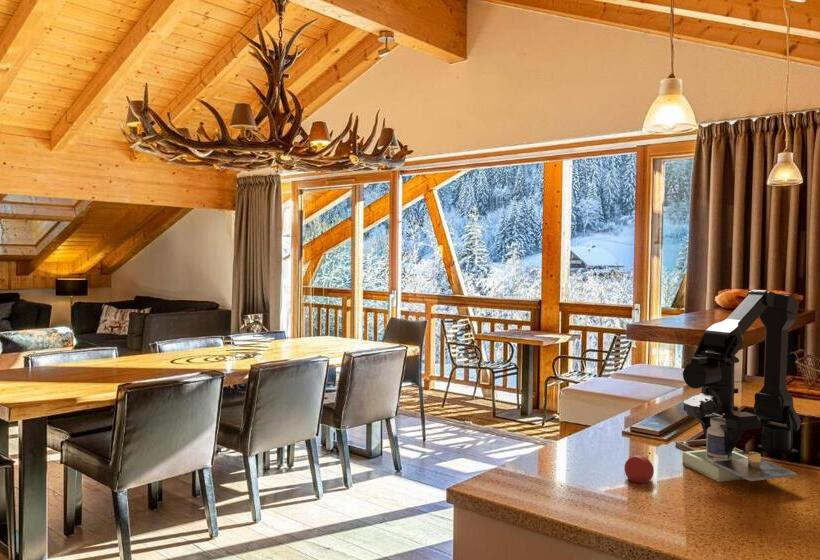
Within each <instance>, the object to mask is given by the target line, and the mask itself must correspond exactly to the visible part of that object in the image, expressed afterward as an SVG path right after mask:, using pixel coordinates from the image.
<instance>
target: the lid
mask: <svg viewBox="0 0 820 560" xmlns="http://www.w3.org/2000/svg"><path fill="white" fill-rule="evenodd" d="M761 455H762V453H760V452H757V451H749V452H748V453H747V457H748V458H744V459H734V460H724V461H714V462H713V464H714V465H716V466H718V467H721V468H723V469H725V470H727V471H729V472H732V473H734V474H736V475H738V476H740V477H743V478H745V479H744V480H747V481H749V482H755V481H756V482H757V481H762V480H763V481H764V480H773V479H774V480H775V479H783V478H792V477H797V476H798V473H797V472H795V471H792V470H790V469H788V468H784V467H782V466H780V465H778V464H775V463H772V462H771V461H767V460H765V459H763V458H762V457H761Z"/></svg>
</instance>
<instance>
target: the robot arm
mask: <svg viewBox="0 0 820 560" xmlns="http://www.w3.org/2000/svg"><path fill="white" fill-rule="evenodd" d="M799 304H800V303H799V300H797V299H796V298H795V296H794V295H793V294H782V293H775V292H773V291H770V290H765V289H752V290H749V291H748V292H747V294H746V297H745V298H744V299H743V300H742V301H741V302H740V303H739V305H738V306H737V307H736V308H735V309H734V310H733V311H732V312H731V313H730V314H729V315H728V317H727V318H725V320H722V321H720V322H716V323H714V324H712V325H711V326H709V327H708V328H707V329H706V330H705V331H704V332H703V334H702V336H701V339H700V341H699V343H698V345H697V347H696V350H695V353H694V354H693V357H690V363H688V364H687V365H685V366H684V367H683V371H682V378H683V382H684V383H685V384H686V386H688V387H689V388H691V389H694V390H695V389H696V390H697V389H701V392H700V393H699V394H696V395H694V396H691V397H690V398H687V399H685V400H684V401H683V411H684V412H686V414H687V415H688V416H691V417H692V418H695V419H696V420H697V421H698V422H700V425H701V427H702V430H703V433H704V437H705V439H706V440H707V429H708V428H709V427H711V424H710V419H711V418H713V417H720V418H723V419H726V425H720V427H721V428H722V429H723V430H724V435H725V450H726V453H727V454H730V453H731V452H732V451H733V449H734V447H735V448H736V445H738V442H739V441H740V439H741V437H742V435H743V434H744V433H745V431H746V430H757V429H761V425H762V431H761V444H757V448H759V449H761V450H763V451H766V452H769V453H772V454H774V455H786V454H787V455H788V454H796V453H798V450H797V449H794V448H793V443H794V442H793V437H794V436H793V434H794V433H793V432H794V431H795V432H797V431H799V430H800V427H801V422H802V420H801V418H800V416H799V415H798V413H797V411H796V410H795V408H794V399H793V397H792V394H791V393H790V391H789V390H788V389H787V373H788V370H787V369H788V353H789V351H788V349H789V348H788V347H789V331H790V328H791V327H792V326H793V325H794V323H795V322H796V320H797V317H798V311H799V308H800V305H799ZM758 318H759V320H760V321H761V323H762V324H763V326H764V328H765V345H764V347H765V349H764V368H763V369H764V370H763V371H764V372H763V374H764V375H763V386H762V387H761V389H760V390H759V391H758V392H757V391H756V392H755V393H754V404H753V411H754V414H753V413H750V412H747V411H741V412H739V406H738V405H735V394H739V388H736V387H735V372H736V371H735V367H736V366H735V364H737V363H740V359H739V358H738V357H737V356H736V355H737V354H738V352H739V351H740V349H741V347H742V346H743V344H744V341H745V340H744V334H745V333H746V332H747V330H749V328H750V327H752V325H753V324H754V323H755V322H756V320H758Z"/></svg>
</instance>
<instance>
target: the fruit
mask: <svg viewBox="0 0 820 560" xmlns="http://www.w3.org/2000/svg"><path fill="white" fill-rule="evenodd" d="M649 455H651V452H648V455H647V456H646V457H645V456H643V455H641V454H640V455H636V454H635V455H633V456H632V455H631V456H630V457H628V458H627V460H626V462H625V463H624V475H625V476H626V477H627V479H628V480H629V481H631V482H633V483H634V484H635V483H636V484H647V483H649V482H650V480H652V479H653V476H654V472H655V470H654V465H653V463H652V462H651V460H649V459H648V458H649Z"/></svg>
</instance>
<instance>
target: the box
mask: <svg viewBox="0 0 820 560" xmlns="http://www.w3.org/2000/svg"><path fill="white" fill-rule="evenodd" d="M696 450H697V451H682V465H683V466H685V467H687V468H689V469H692V470H694V471H695V472H697V473H700V474H702V475H703V476H705V477H708V478H710V479H712V480H714V481H716V482H718V483H719V482H727V481H728V482H729V481H738V480H746V479H745V478H743V477H740V476H738V475H736V474H734V473H732V472H729V471H727V470H725V469H723V468H721V467H718V466H716V465H714V464H713V462H711V461H709V460H707V458H706V449H696ZM744 458H748V455H747V456H746V455H745V454H744V455H742V454H739V453H737V452H735V451H732V460H734V459H744Z"/></svg>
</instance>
